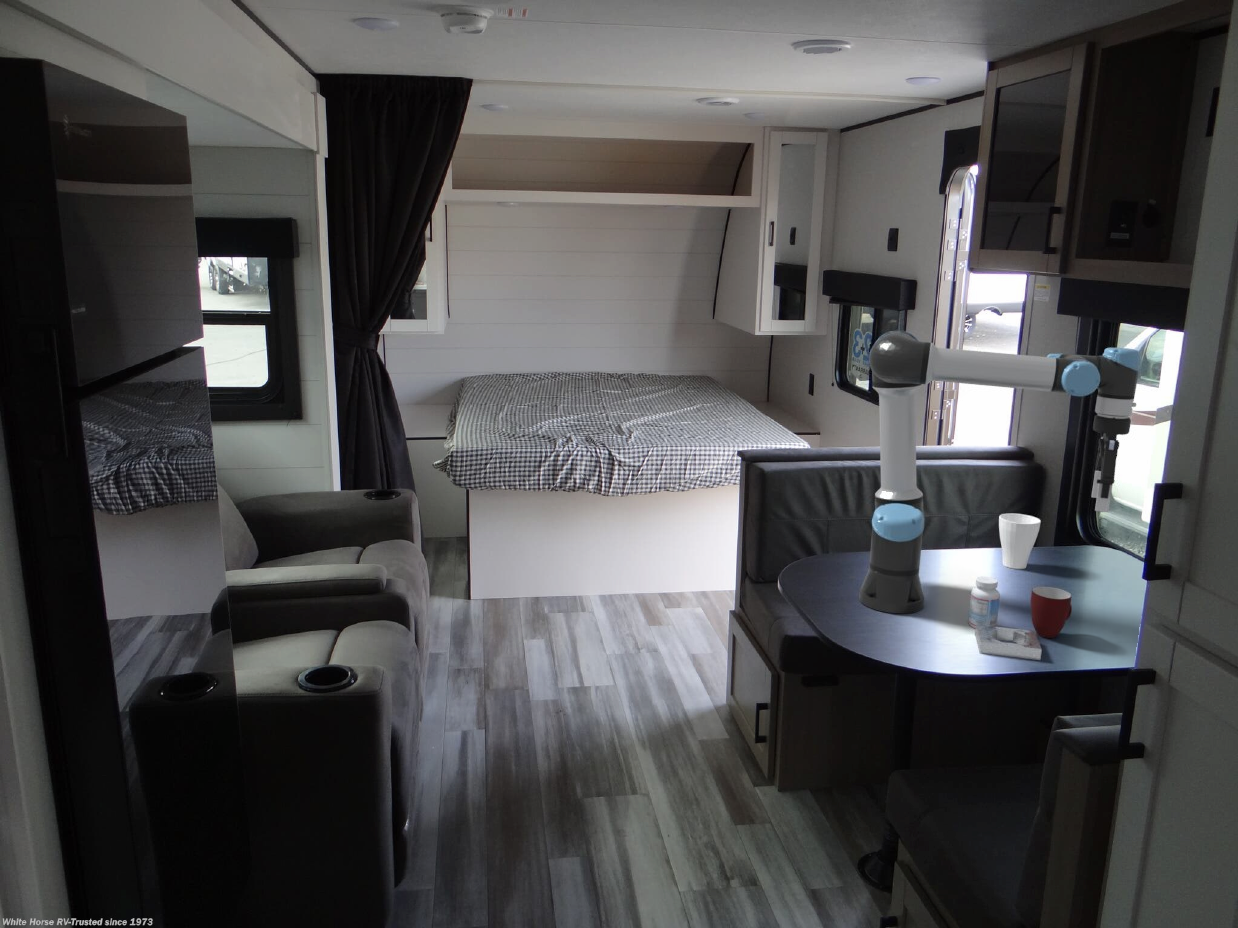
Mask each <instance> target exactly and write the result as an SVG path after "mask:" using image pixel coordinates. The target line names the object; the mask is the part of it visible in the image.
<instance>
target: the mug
mask: <svg viewBox="0 0 1238 928" xmlns="http://www.w3.org/2000/svg"><path fill="white" fill-rule="evenodd" d="M1071 601H1072V594H1071V593H1070V592H1068V591H1066V590H1065V589H1062V588H1057V587H1053V586H1035V587H1033V588H1032V589H1031V594H1030V613H1031V623H1032V626H1033V628H1034V632H1035V634H1036V635H1038V636H1040V637H1042V638H1045V639H1054V638H1056V637H1057V636H1058V635H1059V634H1060V633H1061V631H1062V630H1063V628H1064V627H1065V623H1066V621H1068V619H1070V617H1071V615H1072V611H1073V609H1072V602H1071Z"/></svg>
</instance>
